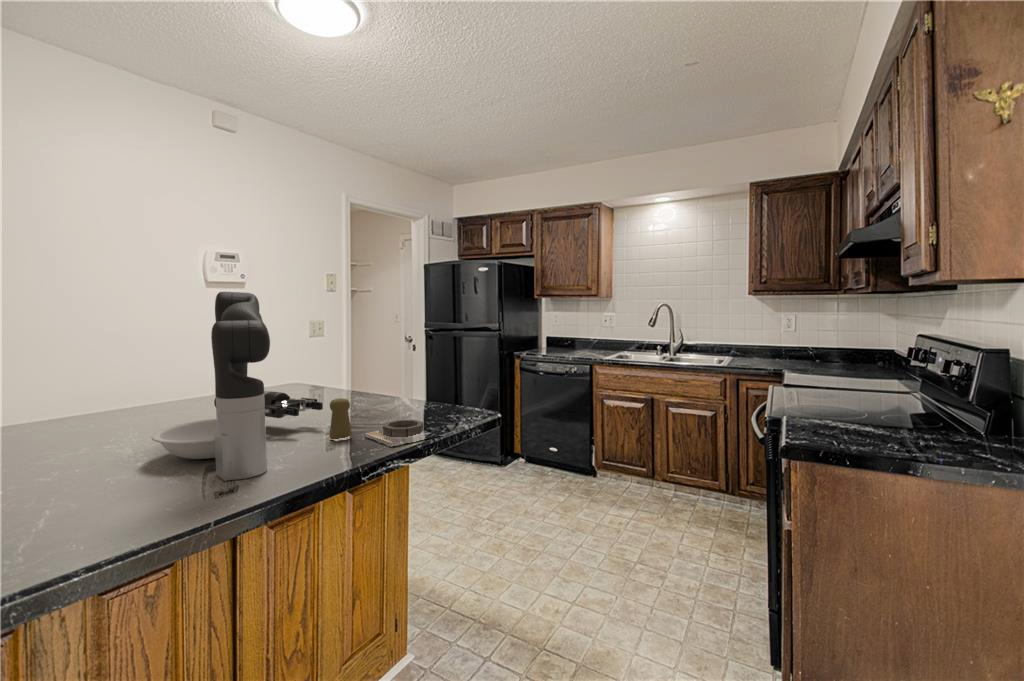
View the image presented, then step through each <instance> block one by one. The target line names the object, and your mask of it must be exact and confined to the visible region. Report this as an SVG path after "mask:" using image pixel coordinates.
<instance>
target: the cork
mask: <svg viewBox="0 0 1024 681" xmlns="http://www.w3.org/2000/svg"><path fill="white" fill-rule="evenodd" d="M350 402H351V401H349V399H347V398H343V397H341V398H334V399H332V400H331V401H330V403H329V410H331V418H330V428H329V437H330V438H331V439H339V438H345V437H348V436H350V435H352V436H353V433H352V426H351V422H350V416H349V414H350V413H349V409H350V407H351V403H350ZM329 437H328V438H329Z"/></svg>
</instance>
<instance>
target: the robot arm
mask: <svg viewBox="0 0 1024 681" xmlns="http://www.w3.org/2000/svg"><path fill="white" fill-rule="evenodd" d="M214 317H215V318H214V319H215V322H214V324H213V326H212V327H211V328H212V329H211V332H210V334H211V339H210V340H211V348H212V358H213V359H212V360H213V368H214V380H215V381H214V382H215V384H214V386H215V388H214V389H215V393H214V394H215V397H214V402H213V404H214V407H215V410H216V411H215V412H216V419H217V431H215V432H214V437H215V458H214V459H215V474H216V476H218V477H219V478H220V479H221V480H222V481H224V482H226V481H231V480H232V481H236V480H242V479H243V480H244V479H245V480H246V479H251V478H254V477H257V476H258V477H259V476H260V475H262V474H264V473H266V472H267V471H268V457H267V434H266V433H267V430H266V428H267V426H266V425H265V422H266V417H267V418H274V419H282V418H284V417H287V416H292V417H298V416H300V412H305V411H307V410H314V411H315V410H316V411H322V410H323V409H324V403H323V402H321V401H318V399H317V398H309V397H300V398H298V399H297V398H291V397H290V396H289V395H288V393H285V392H281V391H272V390H271V391H270V390H265V385H264V384H265V383H264V381H263V380H261V379H259V378H255V377H252V376H248V364H252V363H254V364H255V363H259V362H263V361H265V359H267V357H268V355H269V353H270V347H271V337H270V332H269V330H268V328H267V325H266V324H265V323H264V321H263V317H262V315H261V313H260V302H259V299H258V297H257V296H256V295H255V294H254V293H250V292H242V291H241V292H240V291H239V292H238V291H237V292H236V291H220V292H218V293H217V294H216V296H215V301H214ZM301 407H302V408H301Z"/></svg>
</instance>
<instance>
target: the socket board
mask: <svg viewBox="0 0 1024 681" xmlns="http://www.w3.org/2000/svg"><path fill="white" fill-rule="evenodd" d="M423 426H424V421H420V420H417V419H398V420H392V421H387V422H385V423H384V424H383V425H382V430H383V433H382V434H383V435H386V436H389V437H408V436H413V435H416V434H420V433H421V432H422V431H423ZM365 434H366V435H369V436H372V437H375V438H378V439H381V440H384V441H386V442H389V443H393V442H392V441H390V440H391V439H390V440H388V439H387V440H386V439H384V436H383V435H382V434H381V433H379V430H375V431H374V430H373V431H370V432H365V433H364V435H365Z"/></svg>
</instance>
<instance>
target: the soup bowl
mask: <svg viewBox="0 0 1024 681" xmlns="http://www.w3.org/2000/svg"><path fill="white" fill-rule="evenodd" d="M265 425H266V427H267V426H268V423H267V422H266V421H265ZM215 431H217V418H212V419H204V420H197V421H191V422H185V423H180V424H177V425H172V426H169V427H165V428H162V429H159V430H158V431H156V432H154V433H153V434H152V435H151V439H152V440H151V441H152V442H156V443H160V444H161V446H162V447H163V448H164V449H165V450H166V451H167V452H169V453H170V454H173V455H174V456H177V457H178V458H183V459H189V460H205V459H216V458H215V437H214V432H215Z"/></svg>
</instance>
